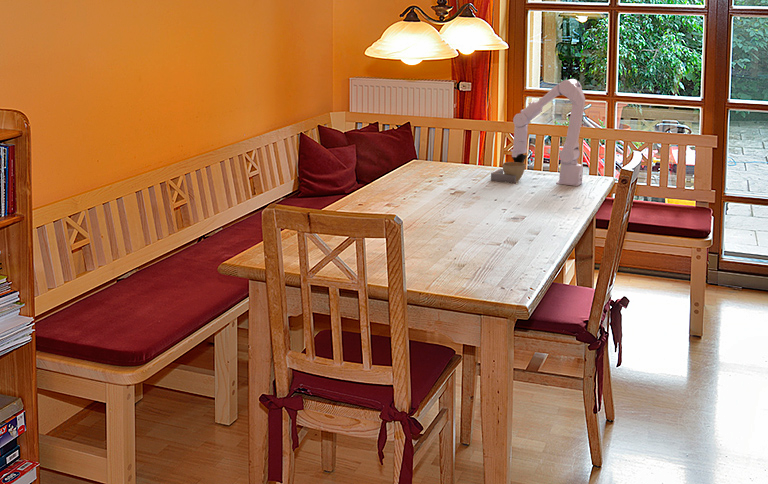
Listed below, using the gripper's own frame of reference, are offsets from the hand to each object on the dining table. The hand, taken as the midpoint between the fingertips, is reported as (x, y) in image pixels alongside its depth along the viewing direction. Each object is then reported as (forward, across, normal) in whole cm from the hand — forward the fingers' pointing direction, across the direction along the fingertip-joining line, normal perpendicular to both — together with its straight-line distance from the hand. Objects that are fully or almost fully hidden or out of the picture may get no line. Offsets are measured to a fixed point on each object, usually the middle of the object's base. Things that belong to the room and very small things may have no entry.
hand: (518, 171), depth 367 cm
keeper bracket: (+3, +8, -2) cm, 9 cm away
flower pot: (+3, +6, 0) cm, 7 cm away
